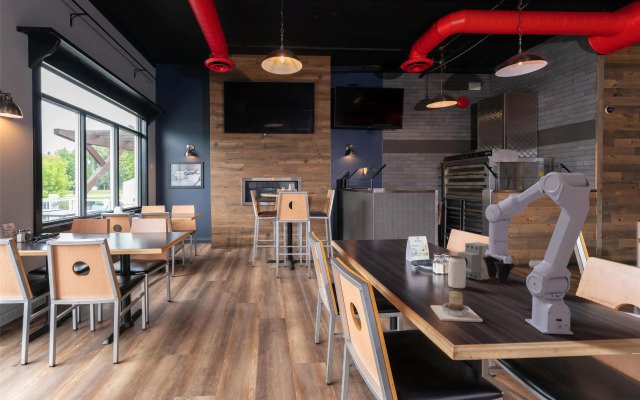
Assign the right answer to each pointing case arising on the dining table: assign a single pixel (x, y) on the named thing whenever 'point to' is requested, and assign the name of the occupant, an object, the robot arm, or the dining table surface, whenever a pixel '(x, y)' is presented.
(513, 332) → the dining table surface
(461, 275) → the can
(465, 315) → the peg holder
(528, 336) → the dining table surface
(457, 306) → the maple peg
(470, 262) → the circuit breaker
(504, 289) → the dining table surface
